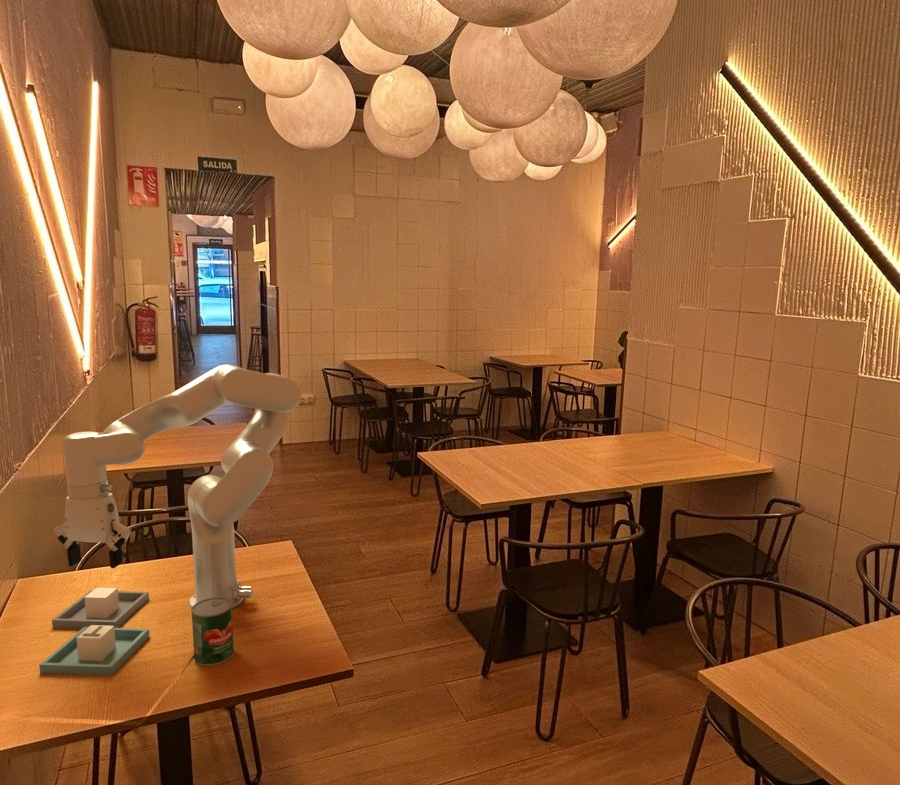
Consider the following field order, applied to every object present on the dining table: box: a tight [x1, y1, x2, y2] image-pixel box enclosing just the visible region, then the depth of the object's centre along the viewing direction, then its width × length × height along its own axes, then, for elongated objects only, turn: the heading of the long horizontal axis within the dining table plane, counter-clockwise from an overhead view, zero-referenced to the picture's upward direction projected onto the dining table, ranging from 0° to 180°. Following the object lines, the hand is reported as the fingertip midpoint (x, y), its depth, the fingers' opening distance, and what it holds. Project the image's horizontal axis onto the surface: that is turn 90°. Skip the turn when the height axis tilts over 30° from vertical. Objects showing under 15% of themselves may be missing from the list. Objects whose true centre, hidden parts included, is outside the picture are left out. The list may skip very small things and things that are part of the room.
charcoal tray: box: [51, 589, 150, 630], centre depth 152 cm, size 15×15×2 cm
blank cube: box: [84, 587, 119, 618], centre depth 152 cm, size 5×5×5 cm
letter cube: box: [76, 625, 116, 661], centre depth 135 cm, size 5×5×5 cm
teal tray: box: [39, 627, 150, 677], centre depth 135 cm, size 15×15×2 cm
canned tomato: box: [190, 597, 235, 667], centre depth 135 cm, size 8×8×11 cm
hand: (95, 564), depth 142 cm, fingers open, 9 cm apart
